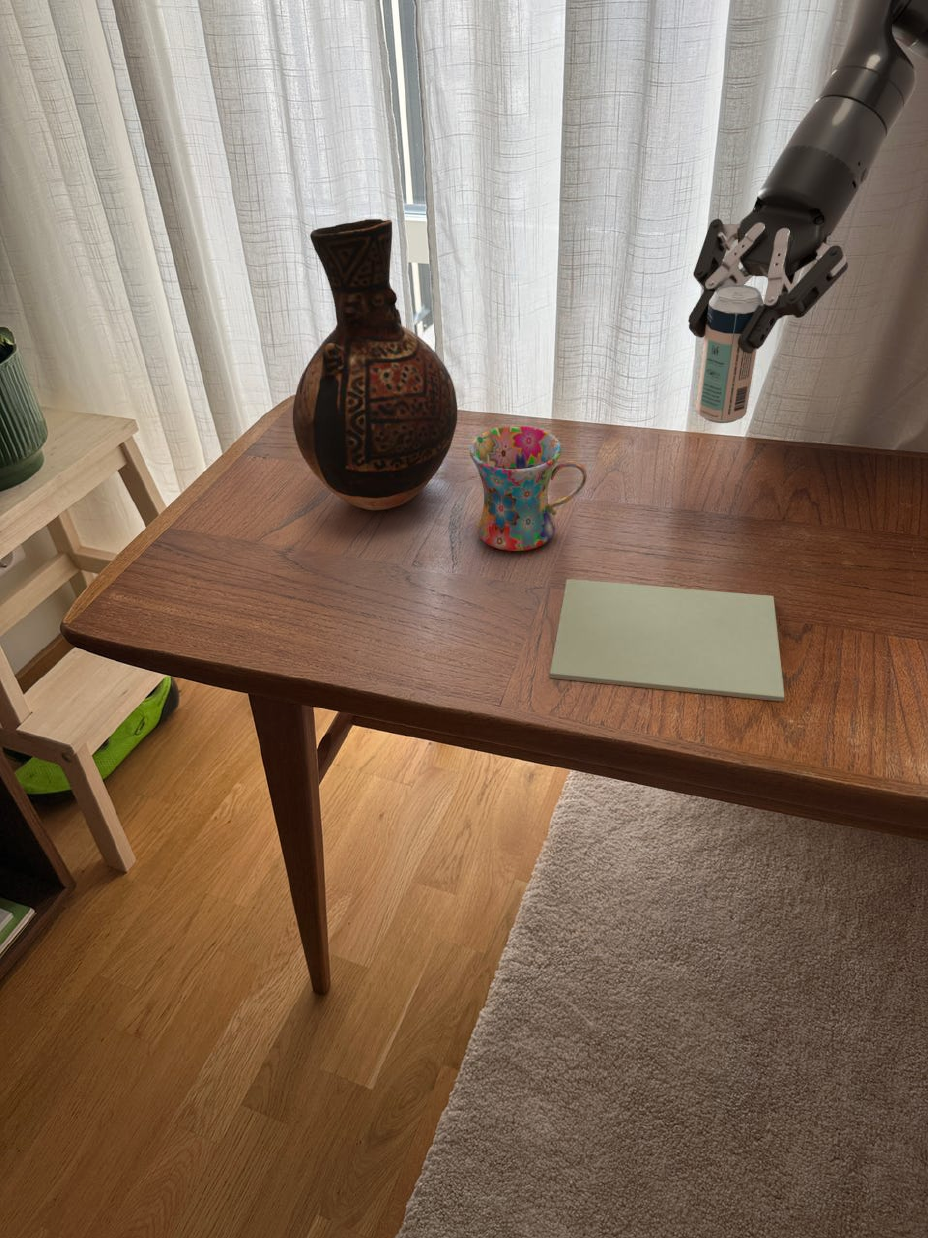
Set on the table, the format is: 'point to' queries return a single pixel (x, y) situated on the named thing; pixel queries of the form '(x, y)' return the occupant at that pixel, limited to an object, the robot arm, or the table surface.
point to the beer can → (727, 355)
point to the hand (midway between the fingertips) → (719, 340)
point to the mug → (518, 486)
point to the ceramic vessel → (371, 381)
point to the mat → (669, 639)
